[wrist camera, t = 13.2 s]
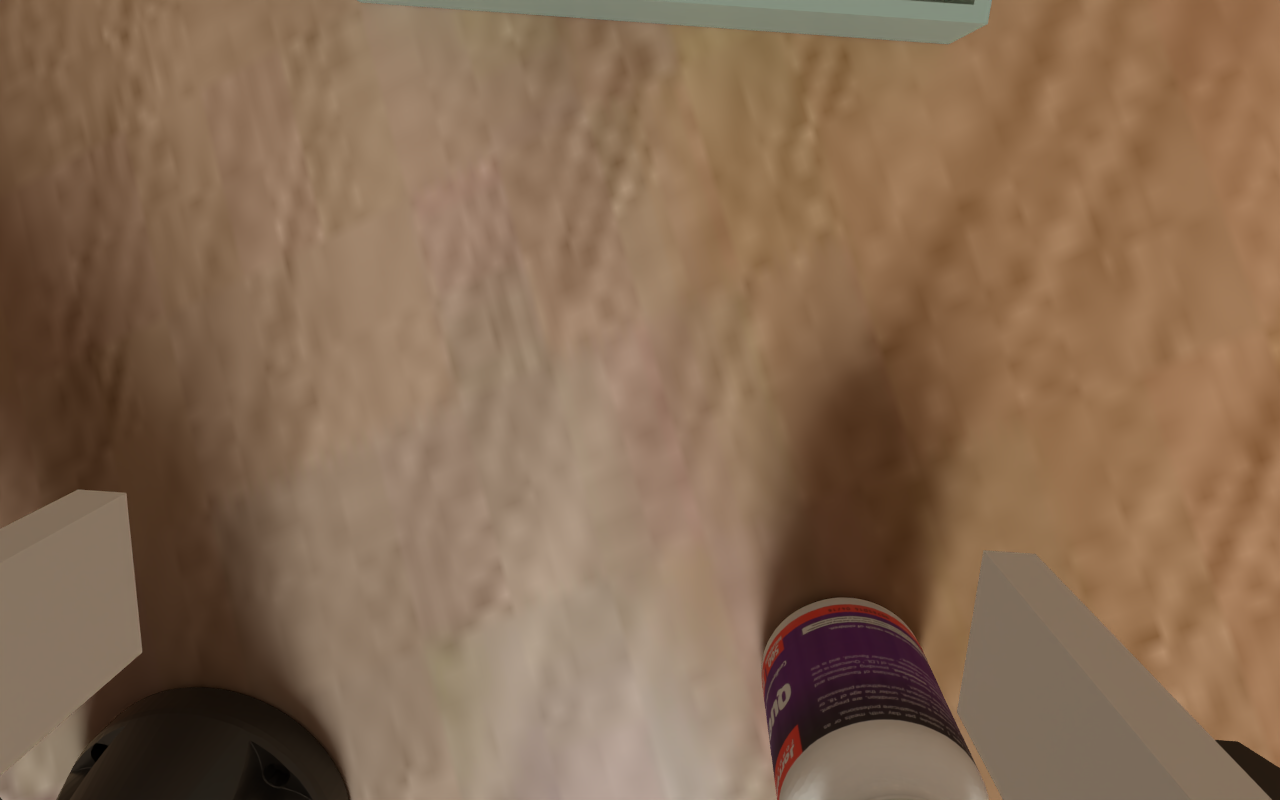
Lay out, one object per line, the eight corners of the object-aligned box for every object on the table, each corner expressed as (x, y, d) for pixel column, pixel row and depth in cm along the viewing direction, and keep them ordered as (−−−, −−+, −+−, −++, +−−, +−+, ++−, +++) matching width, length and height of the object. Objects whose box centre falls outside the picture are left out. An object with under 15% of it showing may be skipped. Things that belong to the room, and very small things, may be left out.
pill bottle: (745, 603, 43) (767, 807, 29) (906, 575, 42) (1008, 773, 28) (775, 740, 45) (809, 993, 31) (930, 716, 44) (1036, 967, 30)
